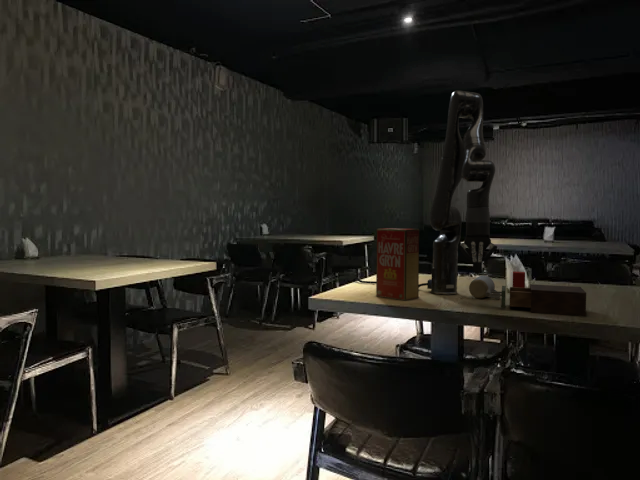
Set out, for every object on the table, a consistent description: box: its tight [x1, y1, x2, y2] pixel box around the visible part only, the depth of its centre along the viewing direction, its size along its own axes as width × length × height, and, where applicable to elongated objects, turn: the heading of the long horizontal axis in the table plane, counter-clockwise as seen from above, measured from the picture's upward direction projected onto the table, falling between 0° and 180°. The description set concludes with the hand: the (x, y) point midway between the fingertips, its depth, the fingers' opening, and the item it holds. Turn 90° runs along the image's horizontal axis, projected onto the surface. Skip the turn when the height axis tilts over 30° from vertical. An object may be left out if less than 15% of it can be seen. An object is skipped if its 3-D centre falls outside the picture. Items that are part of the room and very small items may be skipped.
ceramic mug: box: [468, 274, 501, 300], centre depth 178 cm, size 11×8×8 cm
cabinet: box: [529, 283, 587, 317], centre depth 156 cm, size 15×13×7 cm
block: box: [511, 270, 526, 288], centre depth 173 cm, size 4×4×10 cm
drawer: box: [486, 285, 531, 309], centre depth 160 cm, size 19×11×5 cm, turn 69°
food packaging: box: [375, 227, 420, 302], centre depth 178 cm, size 13×9×25 cm
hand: (477, 273), depth 163 cm, fingers closed
